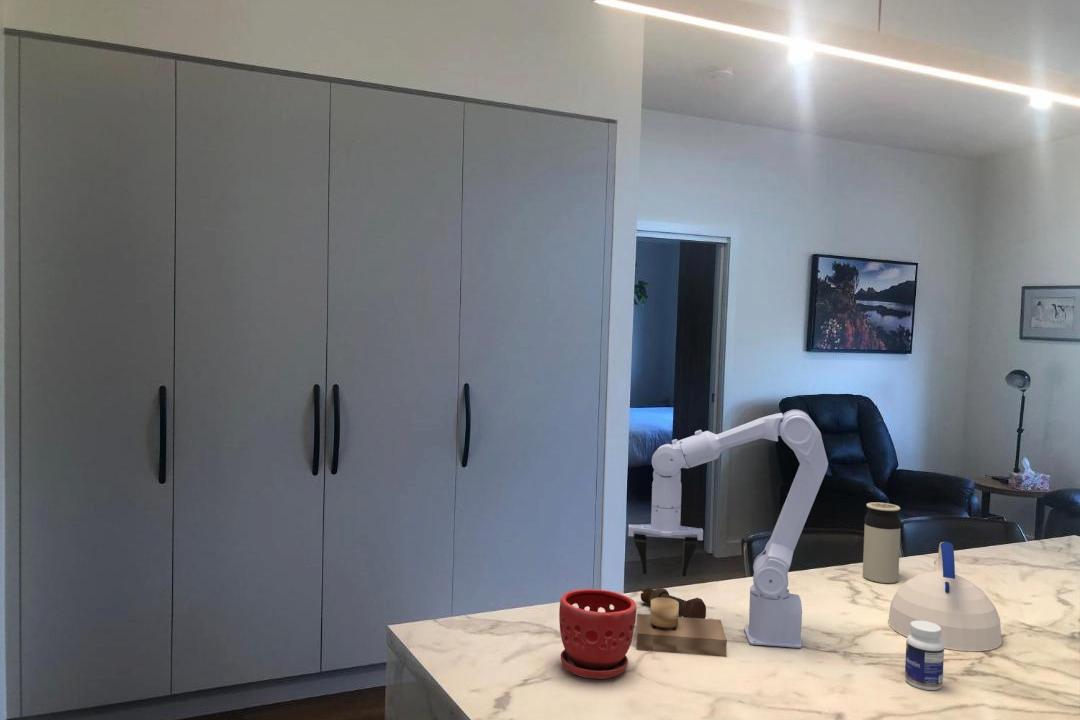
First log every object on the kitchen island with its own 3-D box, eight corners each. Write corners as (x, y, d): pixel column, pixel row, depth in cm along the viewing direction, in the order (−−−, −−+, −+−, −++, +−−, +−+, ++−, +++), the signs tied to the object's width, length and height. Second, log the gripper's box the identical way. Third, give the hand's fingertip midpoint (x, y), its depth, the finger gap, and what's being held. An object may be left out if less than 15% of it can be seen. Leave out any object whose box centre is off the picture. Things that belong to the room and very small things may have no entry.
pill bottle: (897, 676, 131) (900, 619, 131) (929, 675, 132) (931, 618, 132) (917, 691, 126) (919, 632, 125) (950, 691, 126) (952, 631, 126)
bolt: (647, 611, 165) (700, 631, 153) (632, 603, 163) (685, 623, 151) (656, 585, 167) (710, 603, 155) (642, 577, 164) (695, 595, 152)
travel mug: (904, 584, 182) (907, 509, 181) (870, 583, 182) (873, 508, 182) (889, 574, 190) (892, 502, 189) (857, 573, 190) (860, 501, 190)
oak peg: (675, 636, 146) (677, 598, 146) (679, 647, 141) (680, 607, 141) (648, 635, 147) (649, 596, 146) (650, 646, 141) (652, 606, 141)
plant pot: (613, 692, 123) (615, 618, 122) (543, 671, 130) (545, 601, 129) (646, 664, 134) (648, 596, 133) (580, 646, 141) (582, 581, 140)
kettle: (995, 623, 158) (999, 537, 158) (1008, 661, 139) (1013, 563, 139) (888, 606, 167) (891, 524, 166) (887, 640, 148) (890, 547, 147)
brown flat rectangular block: (720, 635, 148) (720, 619, 148) (726, 656, 138) (726, 639, 138) (636, 629, 150) (637, 613, 150) (636, 649, 140) (637, 633, 140)
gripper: (629, 508, 148) (627, 577, 149) (705, 512, 146) (703, 582, 147) (629, 500, 155) (627, 566, 156) (702, 504, 153) (699, 571, 154)
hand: (664, 573), depth 152 cm, fingers open, 7 cm apart
